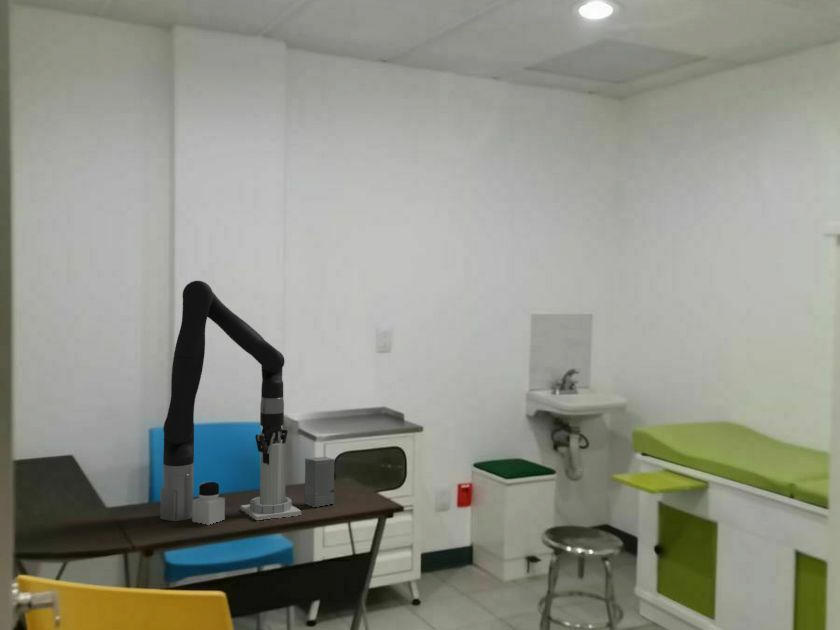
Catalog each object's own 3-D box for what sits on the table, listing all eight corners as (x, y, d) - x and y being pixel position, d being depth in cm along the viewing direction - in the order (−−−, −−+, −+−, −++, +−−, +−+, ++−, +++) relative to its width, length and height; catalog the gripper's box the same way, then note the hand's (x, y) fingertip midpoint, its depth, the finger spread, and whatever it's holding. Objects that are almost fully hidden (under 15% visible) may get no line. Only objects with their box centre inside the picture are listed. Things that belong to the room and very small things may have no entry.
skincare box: (314, 508, 276) (314, 461, 276) (302, 504, 282) (303, 457, 281) (335, 504, 281) (336, 458, 281) (323, 500, 287) (324, 454, 286)
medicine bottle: (225, 520, 260) (225, 482, 260) (208, 525, 254) (209, 486, 254) (208, 516, 264) (209, 479, 264) (191, 522, 258) (192, 483, 257)
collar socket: (256, 521, 260) (256, 508, 260) (240, 510, 273) (241, 497, 272) (301, 515, 267) (301, 503, 267) (283, 504, 280) (284, 492, 280)
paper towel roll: (255, 508, 269) (256, 443, 268) (267, 504, 274) (268, 440, 274) (273, 511, 266) (274, 445, 265) (285, 507, 271) (286, 442, 270)
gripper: (276, 407, 277) (276, 458, 278) (248, 412, 265) (247, 465, 265) (294, 409, 273) (294, 461, 274) (267, 414, 261) (266, 468, 261)
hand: (271, 463), depth 269 cm, fingers open, 4 cm apart
